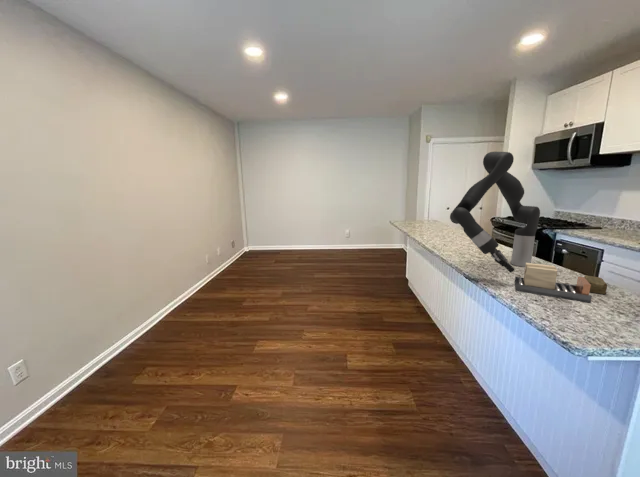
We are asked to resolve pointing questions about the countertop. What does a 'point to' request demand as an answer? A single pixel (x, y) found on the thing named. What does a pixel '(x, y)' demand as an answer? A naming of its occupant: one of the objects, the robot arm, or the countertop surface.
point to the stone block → (596, 284)
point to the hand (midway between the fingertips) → (512, 271)
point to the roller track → (559, 290)
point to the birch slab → (540, 275)
